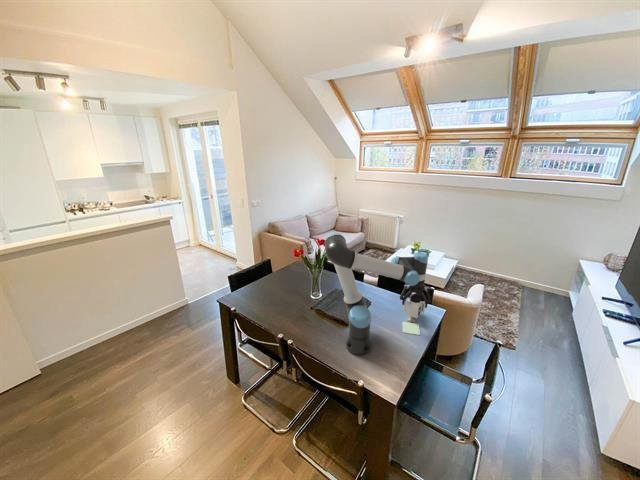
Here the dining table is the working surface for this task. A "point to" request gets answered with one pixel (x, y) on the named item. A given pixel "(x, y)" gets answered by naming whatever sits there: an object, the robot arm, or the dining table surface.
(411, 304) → the container
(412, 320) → the screen
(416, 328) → the mat
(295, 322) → the dining table surface
